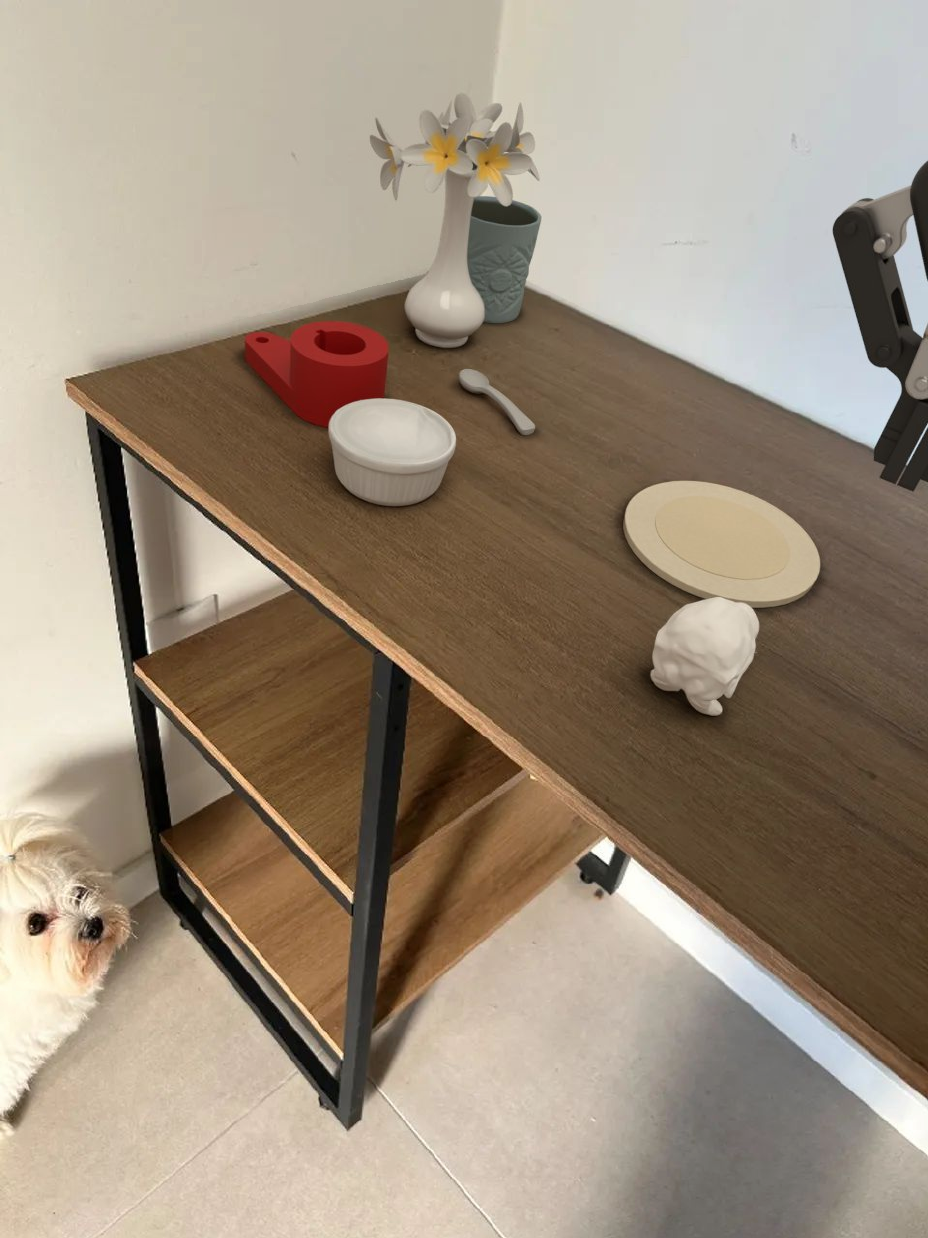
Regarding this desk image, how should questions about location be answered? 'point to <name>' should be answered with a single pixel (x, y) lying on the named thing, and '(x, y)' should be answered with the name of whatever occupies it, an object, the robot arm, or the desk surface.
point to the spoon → (496, 399)
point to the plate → (721, 543)
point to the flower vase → (456, 205)
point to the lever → (321, 366)
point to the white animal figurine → (705, 651)
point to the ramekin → (390, 450)
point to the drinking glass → (501, 254)
